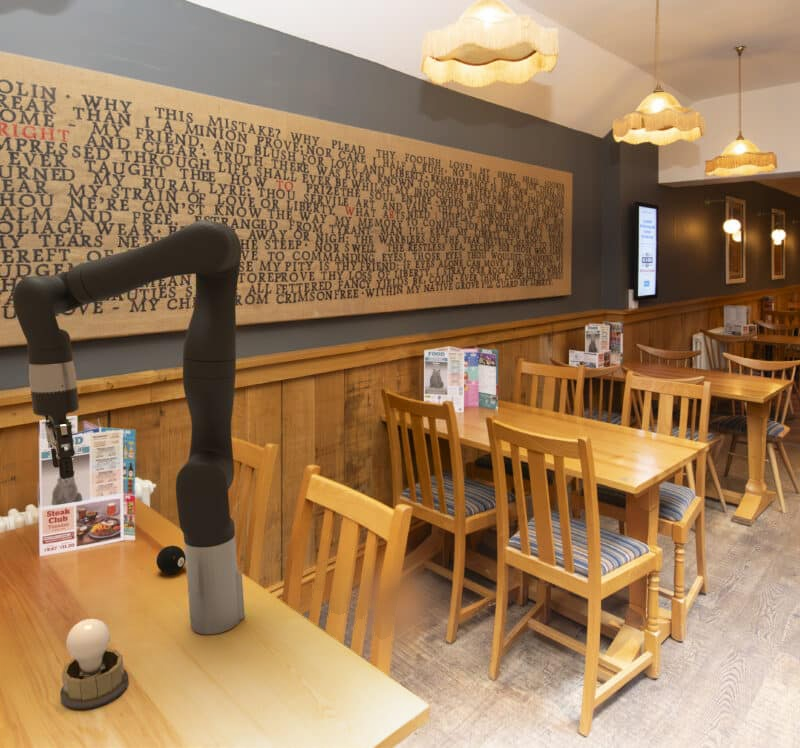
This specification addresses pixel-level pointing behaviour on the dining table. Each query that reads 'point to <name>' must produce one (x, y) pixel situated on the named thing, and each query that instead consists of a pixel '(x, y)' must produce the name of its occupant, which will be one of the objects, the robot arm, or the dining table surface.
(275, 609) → the dining table surface
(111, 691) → the bulb holder
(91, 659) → the lightbulb
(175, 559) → the billiard ball
